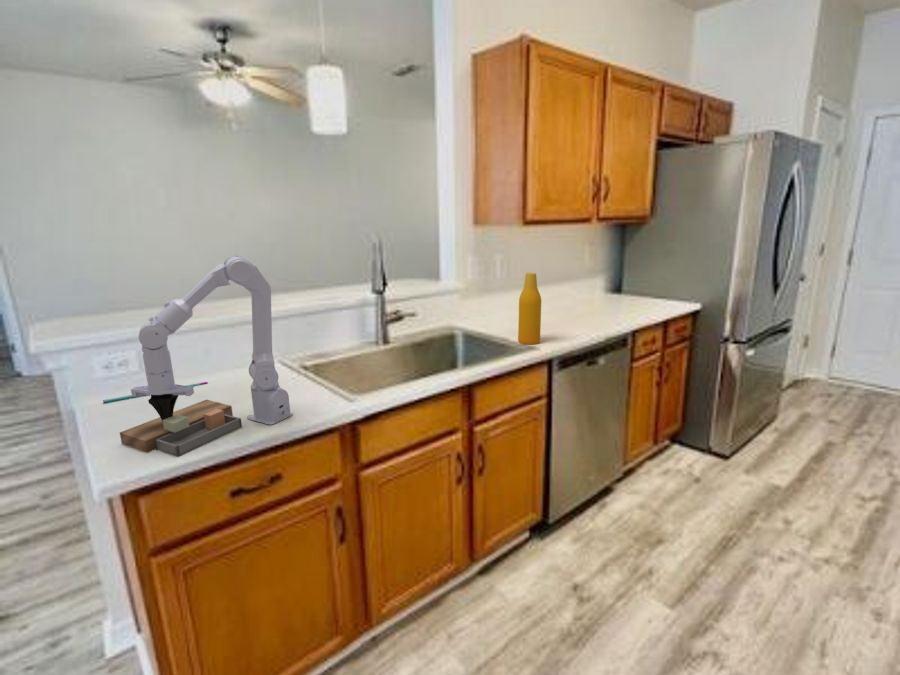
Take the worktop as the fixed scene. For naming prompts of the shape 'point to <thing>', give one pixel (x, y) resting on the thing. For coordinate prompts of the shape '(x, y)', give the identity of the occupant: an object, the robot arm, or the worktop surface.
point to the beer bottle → (529, 312)
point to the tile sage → (176, 423)
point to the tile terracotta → (214, 419)
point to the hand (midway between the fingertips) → (167, 422)
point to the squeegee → (139, 395)
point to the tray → (195, 436)
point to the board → (154, 429)
